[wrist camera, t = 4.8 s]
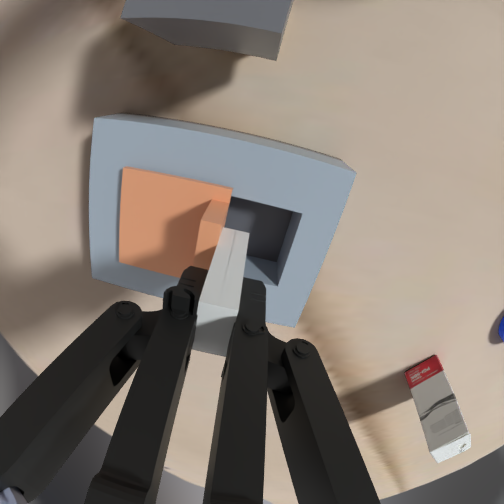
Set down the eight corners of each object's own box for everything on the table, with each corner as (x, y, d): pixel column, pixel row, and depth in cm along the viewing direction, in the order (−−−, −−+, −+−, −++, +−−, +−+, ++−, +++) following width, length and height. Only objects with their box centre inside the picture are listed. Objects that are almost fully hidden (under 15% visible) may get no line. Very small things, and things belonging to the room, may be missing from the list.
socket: (122, 112, 18) (94, 117, 15) (340, 159, 19) (356, 172, 16) (113, 252, 24) (92, 277, 20) (291, 295, 25) (294, 327, 22)
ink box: (402, 371, 30) (428, 454, 20) (436, 352, 29) (470, 432, 18) (416, 397, 33) (436, 466, 23) (445, 381, 32) (471, 448, 21)
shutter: (125, 166, 16) (97, 182, 13) (233, 187, 16) (224, 209, 13) (121, 259, 19) (100, 287, 16) (212, 282, 20) (203, 315, 17)
